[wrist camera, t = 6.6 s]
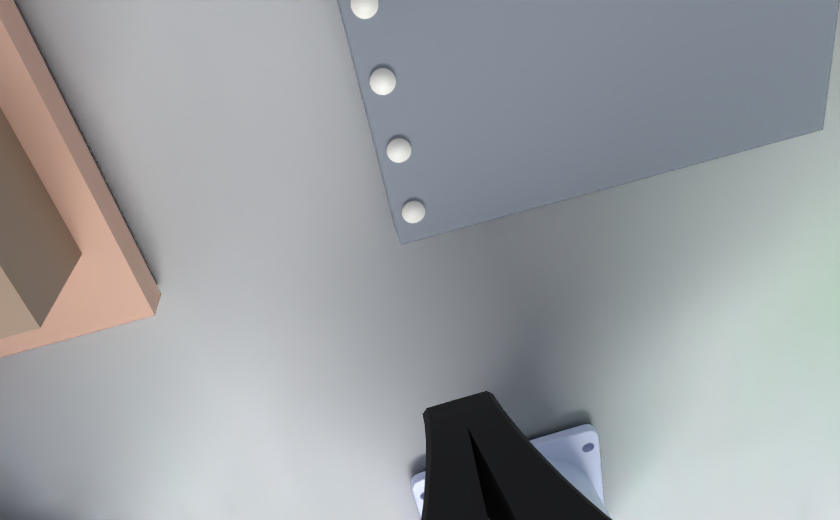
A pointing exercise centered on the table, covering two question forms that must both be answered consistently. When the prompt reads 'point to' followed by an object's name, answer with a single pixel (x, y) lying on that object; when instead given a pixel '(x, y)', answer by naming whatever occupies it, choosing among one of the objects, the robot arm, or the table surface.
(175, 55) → the table surface
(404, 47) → the board
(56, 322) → the stub
